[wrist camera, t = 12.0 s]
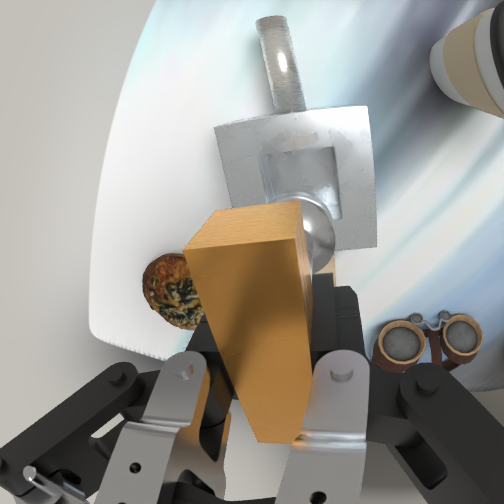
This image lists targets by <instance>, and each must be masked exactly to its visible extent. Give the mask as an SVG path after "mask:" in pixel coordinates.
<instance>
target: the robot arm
mask: <svg viewBox="0 0 504 504" xmlns="http://www.w3.org/2000/svg"><path fill="white" fill-rule="evenodd" d="M312 293H313V309H312V329H311V346H310V355H311V364H312V373H313V378H312V383H311V388H310V393H309V397H308V402H307V407H306V411H305V415H304V420H303V424H302V428H301V432H300V434H299V436H298V437H296V438H295V440H294V442H293V444H292V447H291V450H290V454H289V457H288V461H287V464H286V468H285V471H284V475H283V478H282V481H281V485H280V488H279V491H278V494H277V497H272V498H264V499H254V500H244V501H225V500H224V495H225V489H226V477H225V473H224V458H225V452H226V446H227V440H228V433H229V428H230V422H231V412H230V410H229V407H230V404H231V401H232V399H236V400H239V398H238V396H237V394H236V391H235V389H234V386H233V384H232V382H231V379H230V377H229V374H228V372H227V370H226V367H225V365H224V362H223V360H222V357H221V355H220V352H219V350H218V347H217V344H216V342H215V339H214V337H213V334H212V331H211V329H210V326H209V323H208V321H207V318H206V315H205V313H204V315H202V317H201V319H200V323H198V325H197V327H196V329H195V331H194V333H193V335H192V337H191V340H190V342H189V344H188V346H187V348H186V350H185V351H184V352H180V353H177V354H175V355H173V356H172V357H170V358H169V359H168V360H167V361H166V362H165V363H164V364H163V366H162V368H161V370H157V371H151V372H145V373H139V372H138V371H137V369H136V367H135V366H134V365H133V364H131V363H129V362H119V363H116V364H114V365H111V366H110V367H109V368H107V369H106V370H105V371H103V372H102V373H100V374H99V375H98V376H96V377H95V378H94V379H92V380H91V381H90V382H89V383H87V384H86V385H84V386H83V387H82V388H80V389H79V390H78V391H76V392H75V393H74V394H73V395H71V396H70V397H69V398H67V399H66V400H65V401H63V402H62V403H61V404H59V405H58V406H57V407H55V408H54V409H53V410H51V411H50V412H49V413H48V414H46V415H45V416H43V417H42V418H41V419H39V420H38V421H37V422H35V423H34V424H33V425H31V426H30V427H29V428H27V429H26V430H24V431H23V432H22V433H20V434H19V435H18V436H17V437H15V438H14V439H12V440H11V441H10V442H9V443H7V444H6V445H4V446H3V447H2V448H0V486H1V487H2V488H4V489H5V490H7V491H8V492H10V493H11V494H12V495H13V496H14V499H15V501H16V504H90V503H89V502H88V501H87V500H86V499H87V498H88V497H90V496H91V495H93V494H94V493H95V492H97V491H98V490H99V491H98V494H97V497H96V500H95V502H94V504H358V503H359V497H360V492H361V485H362V479H363V471H364V464H365V455H366V440H368V441H372V442H377V443H383V444H386V446H387V448H388V449H389V451H390V452H391V453H392V455H393V456H394V458H395V459H396V460H397V462H398V463H399V464H400V466H401V467H402V468H403V470H404V471H405V473H406V474H407V475H408V477H409V478H410V480H411V481H412V482H413V484H414V485H415V486H416V488H417V489H418V490H419V492H420V493H421V495H422V496H423V497H424V499H425V500H426V501H427V503H428V504H504V427H503V426H502V425H501V424H500V423H499V422H498V421H497V420H496V419H495V418H494V417H493V416H492V415H491V414H490V413H489V412H488V411H487V410H486V409H485V408H484V406H482V404H481V403H480V402H478V401H477V399H476V398H475V397H474V396H473V395H472V394H471V393H470V392H469V391H468V390H467V389H466V388H465V387H464V386H462V385H461V384H460V383H459V382H458V381H457V380H456V379H455V378H454V377H453V376H452V375H451V374H450V373H449V372H448V371H447V370H446V369H445V368H443V367H442V366H440V365H437V364H434V363H419V364H416V365H414V366H412V367H410V368H409V369H407V370H406V372H405V373H404V374H403V373H396V372H390V371H385V370H382V369H380V368H378V367H376V366H375V365H373V364H372V363H371V362H370V361H369V360H368V358H367V356H366V354H365V349H364V341H363V333H362V325H361V318H360V311H359V305H358V298H357V294H356V293H355V292H354V291H353V290H352V288H351V287H350V286H341V287H334V280H333V272H332V273H320V274H312ZM118 413H120V414H121V415H122V416H123V417H124V420H123V421H121V422H120V423H119V424H118V425H117V426H115V427H114V428H113V429H111V430H110V431H109V432H108V433H106V434H105V435H104V436H102V437H100V438H93V437H91V435H92V434H93V433H94V432H96V431H97V430H98V429H99V428H101V427H102V426H103V425H104V424H106V423H107V422H108V421H110V420H111V419H112V418H114V417H115V416H116V415H117V414H118Z"/></svg>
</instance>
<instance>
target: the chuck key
mask: <svg viewBox="0 0 504 504" xmlns="http://www.w3.org/2000/svg"><path fill="white" fill-rule="evenodd" d="M335 245H336V238H335V231H334V224H333V218H332V215H331V213H330V211H329V209H328V207H327V206H326V205H325V204H324V203H323V202H322V201H321V200H320V199H319V198H317V197H316V196H314V195H312V194H309V193H306V192H301V191H291V192H286V193H283V194H280V195H278V196H277V197H275V198H274V199H272V200H271V201H270V202H269V203H268V204H262V205H255V206H247V207H240V208H233V209H226V210H219V211H215V212H214V213H213V215H212V216H211V217H210V218H209V219H208V220H207V222H206V223H205V224H204V225H203V226H202V227H201V229H200V230H199V231H198V232H197V233H196V235H195V236H194V237H193V238H192V239H191V241H190V242H189V243H188V244H187V245H186V247H185V248H184V249H183V252H184V255H185V258H186V261H187V264H188V267H189V270H190V273H191V276H192V279H193V282H194V285H195V288H196V290H197V293H198V296H199V299H200V302H201V304H202V307H203V310H204V313H205V315H206V318H207V321H208V323H209V326H210V329H211V331H212V334H213V337H214V339H215V342H216V344H217V347H218V350H219V352H220V355H221V357H222V360H223V362H224V365H225V367H226V370H227V372H228V374H229V377H230V379H231V382H232V384H233V386H234V389H235V391H236V394H237V396H238V398H239V401H240V403H241V405H242V407H243V410H244V412H245V414H246V416H247V419H248V421H249V423H250V425H251V427H252V430H253V432H254V434H255V436H256V439H257V441H258V442H261V443H262V442H263V443H280V444H293V442H294V440H295V438H296V437H298V436H299V434H300V432H301V428H302V424H303V420H304V415H305V411H306V407H307V402H308V397H309V393H310V388H311V383H312V378H313V373H312V364H311V355H310V346H311V329H312V309H313V293H312V274H315V273H317V272H318V271H320V270H321V269H323V268H324V267H325V266H326V265H327V264H328V262H329V261H330V260H331V258H332V256H333V254H334V250H335Z"/></svg>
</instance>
